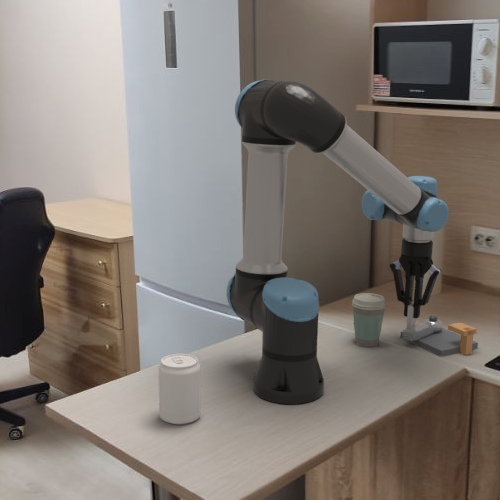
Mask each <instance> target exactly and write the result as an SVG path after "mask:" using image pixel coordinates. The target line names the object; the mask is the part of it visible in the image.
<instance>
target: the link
mask: <svg viewBox="0 0 500 500" xmlns="http://www.w3.org/2000/svg"><path fill="white" fill-rule="evenodd" d="M422 321H423V322H420V323H418V324H415V326H412V327H410V328H407V329H406V328H405V329H403V330H402V332H403V335H402V338H401V339H402V340H404V339H405V341H407V340H408V341H407V342H409V341H411V342H413V341H416V340H418V339H420V338H422V337H425V336H427V335H429V334H432V333H438V332H441V331H442V328H443V320H442V319H440V318H438V316H436V315H430V316H429V317H426V318H423V319H422ZM411 342H410V343H411Z"/></svg>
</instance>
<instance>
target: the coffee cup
mask: <svg viewBox="0 0 500 500" xmlns="http://www.w3.org/2000/svg"><path fill="white" fill-rule="evenodd" d="M351 302H352V303H351V306H352V311H353V312H352V315H353V327H354V328H353V329H354V340H355V344H356V345H357V346H361V347H367V348H370V347H371V348H373V347H376V346H379V342H380V337H381V333H382V326H383V322H384V321H383V320H384V316H385V314H384V313H385V308H387V303H386V300H385V297H384V296H383V295H381V294H377V293H372V292H365V293H357V294H355V295H354V296H353V299H352V300H351Z"/></svg>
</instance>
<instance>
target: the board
mask: <svg viewBox="0 0 500 500" xmlns="http://www.w3.org/2000/svg"><path fill="white" fill-rule="evenodd" d="M402 335H403V331H401V332H400V335H399V337H400V338H401V339H402ZM403 340H405V339H403ZM405 341H407V342H409V343H411V344H413V345H415V346H417V347H420V348H422V349H424V350H426V351H428V352H430V353H433V354H435V355H437V356H439V357H446V356H451V355H453V354H458V353H460V343H461V335H460V334H458V333H455V332H453V331H450V330H448V328H447V329H446V328H444V327H442V331H441V332H438V333H432V334H429V335H427V336H425V337H422V338H420V339H418V340H416V341H413V342H411V341H408V340H405ZM478 345H479V342H478V341H476V340H473V344H472V350H477V349H478V347H479V346H478Z"/></svg>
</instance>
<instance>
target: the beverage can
mask: <svg viewBox="0 0 500 500" xmlns="http://www.w3.org/2000/svg"><path fill="white" fill-rule="evenodd" d="M201 386H202V385H201V365H200V362H199V358H198V357H196V356H195V355H192V354H188V353H173V354H169V355H165V356H164V357H162V358H161V360H160V363H159V365H158V402H159V403H158V406H159V407H158V409H159V413H158V414H159V417H160V419H161V420H162V421H164V422H166V423H169V424H172V425H186V424H190V423H192V422H195V421H196V420H198V419H199V418H200V416H201V408H202V407H201Z"/></svg>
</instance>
